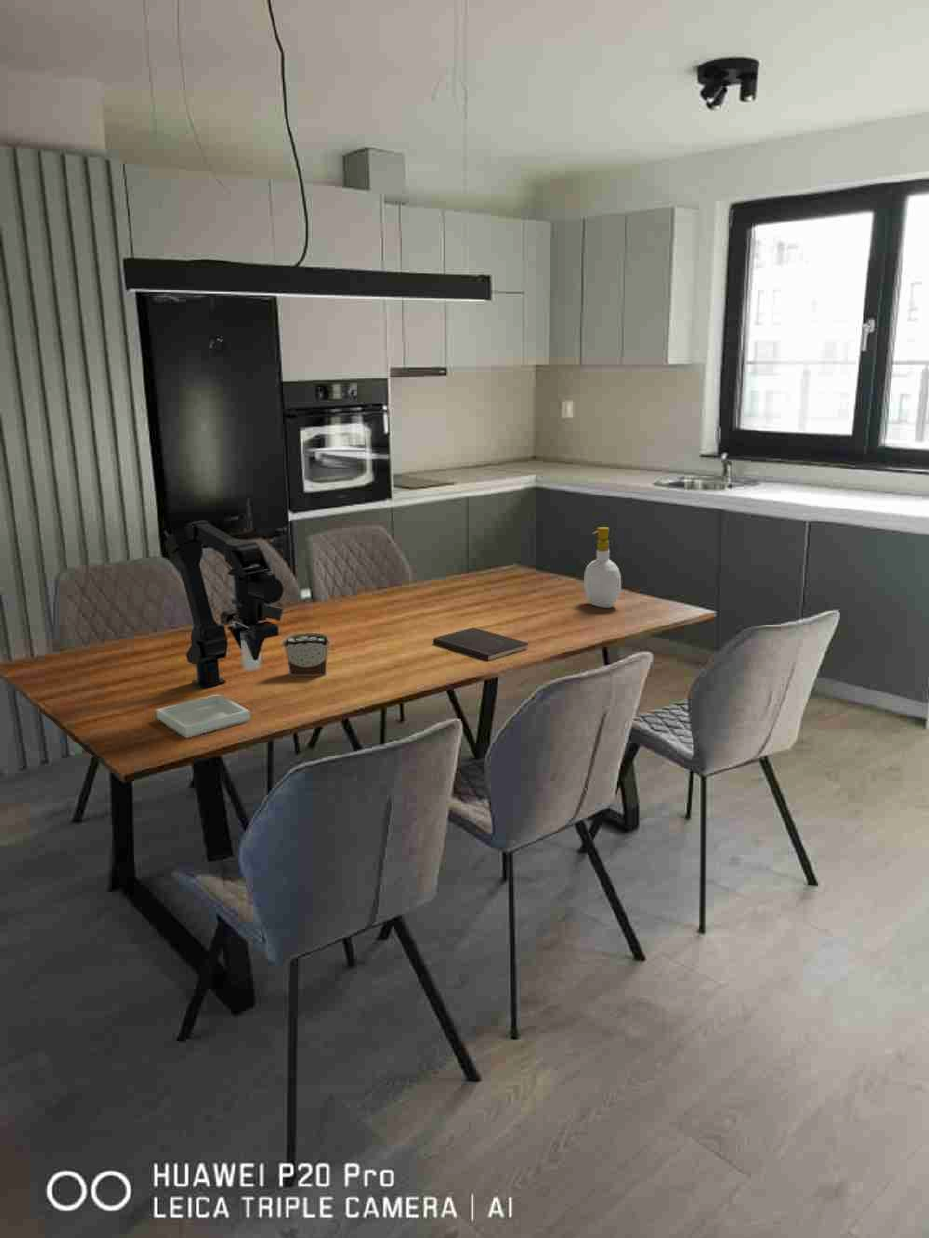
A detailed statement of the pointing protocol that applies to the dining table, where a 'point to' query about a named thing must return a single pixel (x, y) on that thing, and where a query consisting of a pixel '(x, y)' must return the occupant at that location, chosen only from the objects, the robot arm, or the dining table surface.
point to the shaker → (248, 654)
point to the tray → (203, 715)
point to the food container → (306, 653)
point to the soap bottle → (602, 575)
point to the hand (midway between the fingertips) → (251, 657)
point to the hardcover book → (480, 643)
